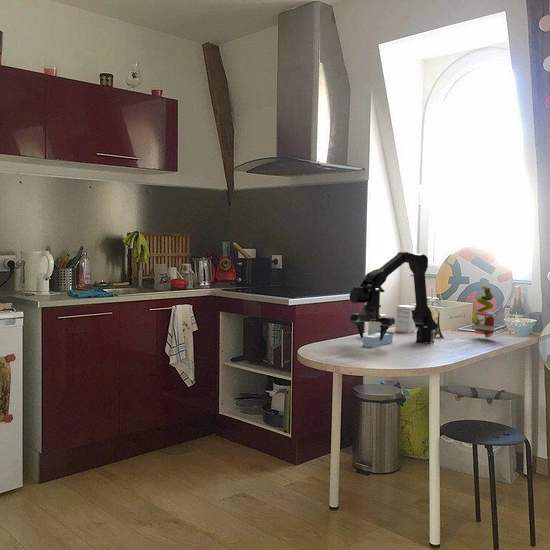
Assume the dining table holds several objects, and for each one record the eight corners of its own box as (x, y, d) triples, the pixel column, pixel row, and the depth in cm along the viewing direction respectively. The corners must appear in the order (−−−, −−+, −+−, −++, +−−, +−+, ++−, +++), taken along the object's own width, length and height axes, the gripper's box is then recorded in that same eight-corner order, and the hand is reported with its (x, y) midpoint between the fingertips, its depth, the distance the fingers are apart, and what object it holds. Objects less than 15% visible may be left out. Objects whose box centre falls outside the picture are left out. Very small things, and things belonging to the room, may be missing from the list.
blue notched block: (394, 342, 282) (395, 331, 282) (381, 346, 271) (382, 335, 271) (379, 340, 286) (380, 329, 286) (366, 344, 276) (366, 332, 275)
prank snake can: (465, 336, 304) (468, 284, 303) (482, 336, 308) (485, 284, 306) (482, 341, 294) (485, 287, 292) (499, 340, 298) (502, 287, 296)
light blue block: (378, 346, 272) (379, 336, 271) (373, 347, 268) (373, 337, 267) (368, 344, 275) (368, 335, 274) (362, 345, 271) (363, 336, 270)
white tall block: (401, 329, 321) (402, 304, 320) (415, 331, 317) (416, 306, 316) (394, 331, 315) (396, 305, 314) (409, 332, 311) (410, 307, 310)
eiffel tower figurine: (416, 337, 301) (418, 309, 300) (428, 335, 308) (430, 308, 307) (444, 342, 291) (446, 313, 290) (456, 340, 298) (458, 311, 297)
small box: (384, 336, 298) (386, 314, 297) (385, 338, 292) (386, 315, 291) (367, 335, 299) (368, 313, 298) (368, 337, 293) (369, 314, 292)
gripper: (344, 302, 269) (342, 338, 270) (384, 306, 258) (382, 344, 259) (356, 300, 278) (355, 335, 279) (396, 304, 267) (394, 341, 268)
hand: (371, 339), depth 271 cm, fingers open, 9 cm apart
